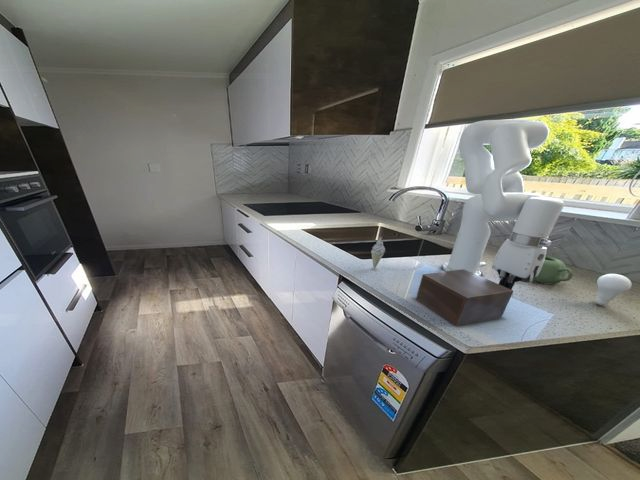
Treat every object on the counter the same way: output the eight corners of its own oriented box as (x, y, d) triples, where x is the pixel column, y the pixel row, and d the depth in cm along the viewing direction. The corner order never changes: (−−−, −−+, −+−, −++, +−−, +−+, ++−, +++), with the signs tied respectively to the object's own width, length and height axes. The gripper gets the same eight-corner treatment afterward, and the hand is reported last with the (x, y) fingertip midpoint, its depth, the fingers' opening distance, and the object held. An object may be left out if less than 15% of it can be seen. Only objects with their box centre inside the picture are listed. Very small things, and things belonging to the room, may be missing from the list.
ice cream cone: (382, 272, 102) (389, 238, 96) (369, 271, 103) (375, 238, 97) (378, 267, 107) (385, 234, 101) (366, 266, 108) (372, 234, 102)
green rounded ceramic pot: (504, 270, 102) (513, 251, 99) (535, 270, 102) (545, 251, 99) (546, 290, 88) (557, 268, 84) (582, 290, 87) (595, 268, 84)
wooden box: (455, 293, 86) (463, 269, 83) (501, 318, 73) (513, 290, 69) (415, 299, 83) (422, 274, 79) (456, 326, 70) (467, 297, 66)
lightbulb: (579, 300, 82) (596, 270, 77) (595, 299, 82) (613, 270, 78) (604, 310, 76) (625, 280, 72) (621, 309, 76) (643, 279, 72)
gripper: (569, 247, 67) (539, 302, 75) (509, 231, 81) (488, 279, 88) (548, 249, 66) (520, 305, 73) (490, 232, 79) (471, 281, 87)
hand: (503, 290), depth 81 cm, fingers closed
